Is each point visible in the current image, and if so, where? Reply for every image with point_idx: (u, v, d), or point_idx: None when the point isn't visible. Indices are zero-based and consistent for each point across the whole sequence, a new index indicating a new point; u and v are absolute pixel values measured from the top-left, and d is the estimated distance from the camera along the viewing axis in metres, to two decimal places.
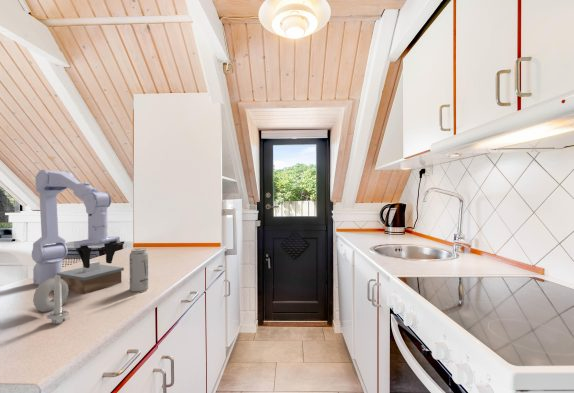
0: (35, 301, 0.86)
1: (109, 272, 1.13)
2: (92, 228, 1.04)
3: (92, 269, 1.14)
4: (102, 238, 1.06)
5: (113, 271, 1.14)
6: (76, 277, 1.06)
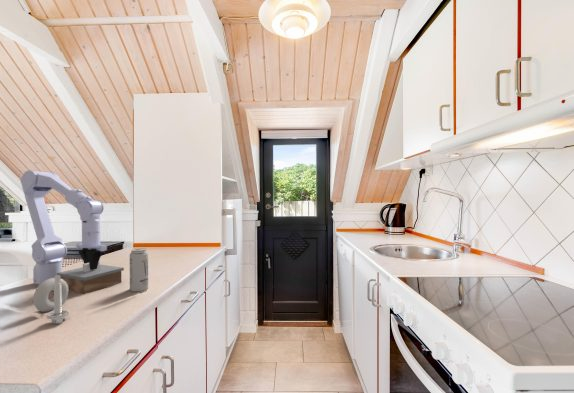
0: (35, 301, 0.86)
1: (109, 272, 1.13)
2: None
3: None
4: (83, 244, 1.12)
5: (113, 271, 1.14)
6: (76, 277, 1.06)
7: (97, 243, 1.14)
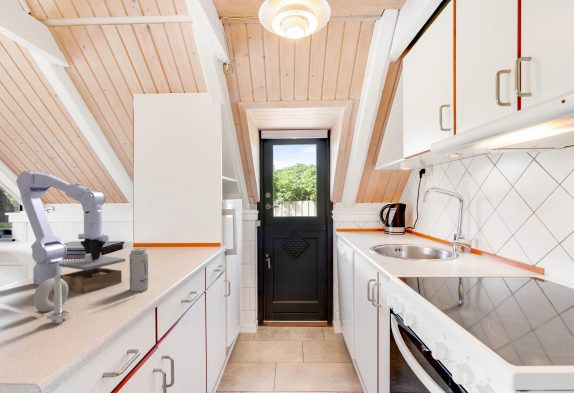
0: (35, 301, 0.86)
1: (111, 263, 1.14)
2: None
3: (94, 260, 1.15)
4: (85, 234, 1.13)
5: (115, 262, 1.15)
6: (78, 267, 1.07)
7: (99, 234, 1.15)
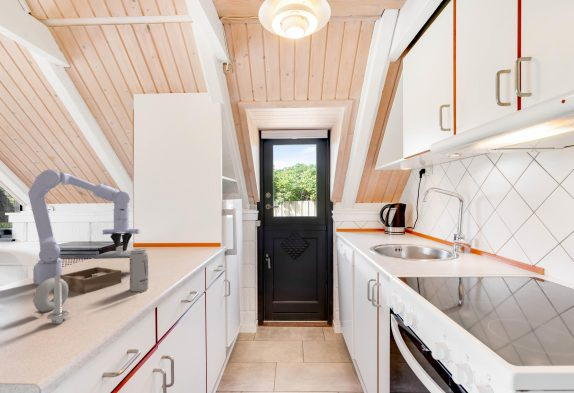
0: (35, 301, 0.86)
1: None
2: None
3: (123, 252, 1.32)
4: (118, 229, 1.29)
5: None
6: (122, 256, 1.24)
7: (128, 228, 1.33)
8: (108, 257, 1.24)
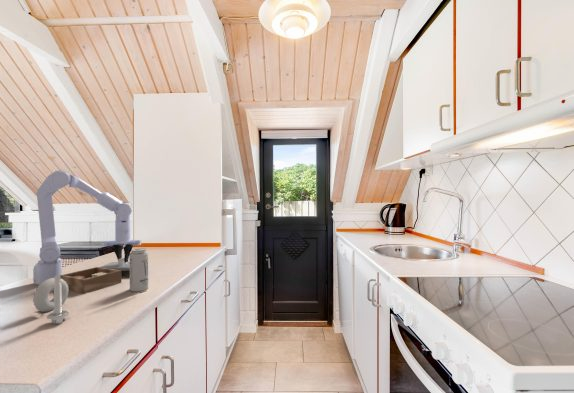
0: (35, 301, 0.86)
1: None
2: (115, 232, 1.32)
3: (125, 263, 1.33)
4: (120, 241, 1.30)
5: None
6: (124, 268, 1.26)
7: None
8: None
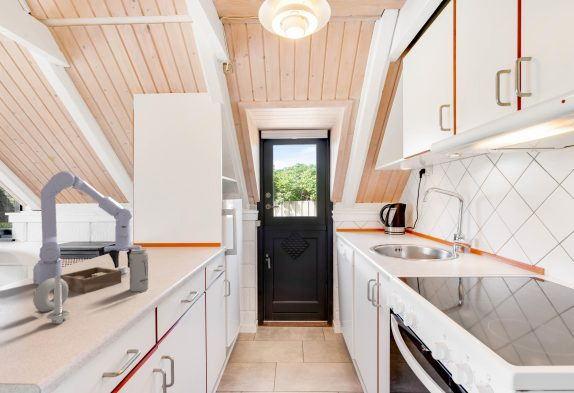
0: (35, 301, 0.86)
1: None
2: (115, 237, 1.32)
3: (125, 272, 1.33)
4: (120, 246, 1.30)
5: None
6: None
7: (130, 245, 1.34)
8: None
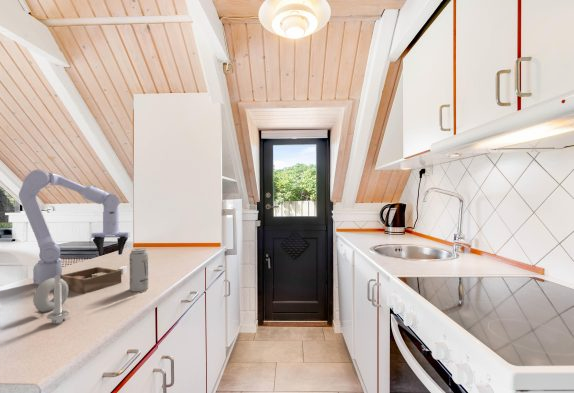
0: (35, 301, 0.86)
1: None
2: (103, 223, 1.29)
3: (125, 272, 1.33)
4: (107, 232, 1.27)
5: None
6: None
7: None
8: None
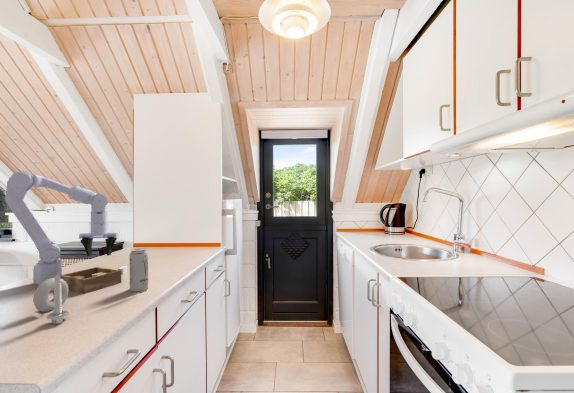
0: (35, 301, 0.86)
1: None
2: None
3: (125, 272, 1.33)
4: (95, 233, 1.25)
5: None
6: None
7: (106, 232, 1.28)
8: None
